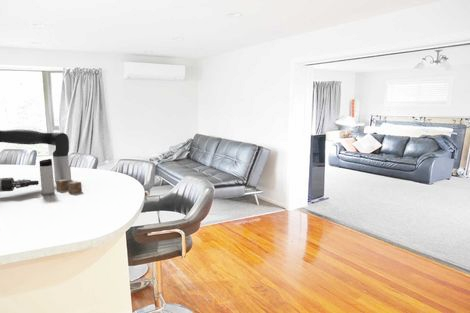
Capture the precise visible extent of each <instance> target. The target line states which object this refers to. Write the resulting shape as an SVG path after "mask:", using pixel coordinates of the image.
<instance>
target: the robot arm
mask: <svg viewBox="0 0 470 313" xmlns="http://www.w3.org/2000/svg"><path fill="white" fill-rule="evenodd" d="M69 140H70V139H69V136H68V134H66V133H65V132H40V131H37V130H30V129H19V128H18V129H7V130H5V129H4V130H2V129H1V130H0V143H6V144H17V145H39V144H41V145H50V146H54V147H55V150H54V151H53V152H52V163H53V176H54V182H56V181H58V180H63V179H65V180H69V181H70V180H72V172H71V166H70V164H69V163H70V162H69V152H70V141H69ZM39 184H40V182H39V180H31V179H25V178H24V179H17V180H15V179H14V178H13V177H0V193H3V192H4V193H5V192H13V191H14V190H15V188H16V189H20V188H26V187H27V188H28V187H30V186H38V185H39Z"/></svg>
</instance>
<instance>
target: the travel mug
mask: <svg viewBox="0 0 470 313" xmlns="http://www.w3.org/2000/svg"><path fill="white" fill-rule="evenodd" d="M39 174H40V186H41V195H42V196H51V195H54V194H55V183H54V182H55V179H54V167H53V158H48V159H41V160H40V161H39Z"/></svg>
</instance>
